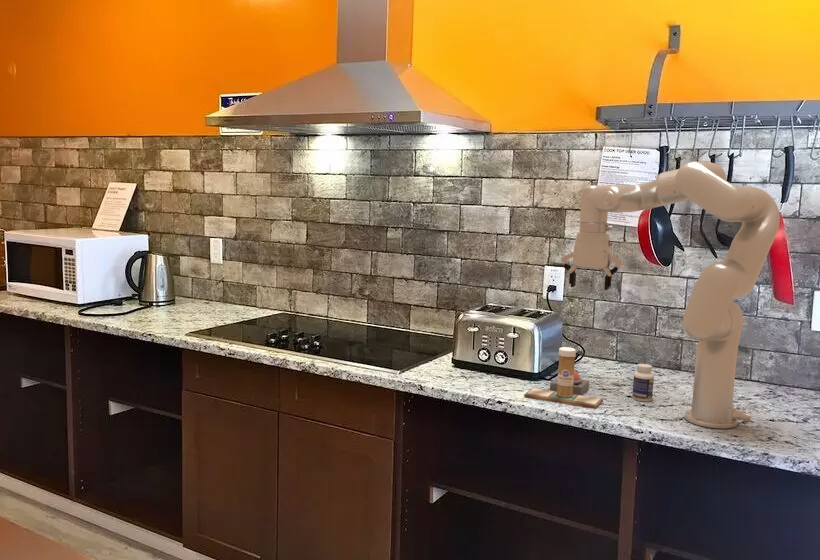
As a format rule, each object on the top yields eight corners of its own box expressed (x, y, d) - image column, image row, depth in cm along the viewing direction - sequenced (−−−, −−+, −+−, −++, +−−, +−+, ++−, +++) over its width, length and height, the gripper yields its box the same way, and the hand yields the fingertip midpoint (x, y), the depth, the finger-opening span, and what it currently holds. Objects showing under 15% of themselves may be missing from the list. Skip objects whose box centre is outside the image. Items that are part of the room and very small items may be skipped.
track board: (602, 401, 208) (603, 398, 208) (596, 408, 201) (596, 405, 201) (533, 390, 217) (533, 387, 217) (524, 397, 210) (524, 393, 210)
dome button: (584, 387, 219) (585, 368, 219) (578, 392, 213) (579, 373, 213) (561, 383, 223) (562, 365, 222) (554, 388, 217) (555, 369, 216)
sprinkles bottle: (558, 398, 206) (560, 350, 204) (555, 393, 211) (557, 346, 209) (574, 398, 206) (577, 350, 204) (571, 394, 211) (574, 346, 209)
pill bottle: (651, 403, 208) (653, 368, 207) (630, 400, 210) (633, 366, 209) (653, 398, 213) (655, 364, 212) (633, 395, 215) (635, 362, 214)
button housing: (588, 389, 220) (589, 380, 220) (580, 396, 212) (581, 387, 212) (558, 384, 224) (559, 375, 224) (549, 391, 216) (550, 382, 216)
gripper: (626, 229, 215) (622, 289, 217) (566, 226, 222) (563, 284, 224) (621, 230, 208) (617, 292, 210) (559, 227, 215) (556, 287, 218)
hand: (589, 288), depth 217 cm, fingers open, 9 cm apart
